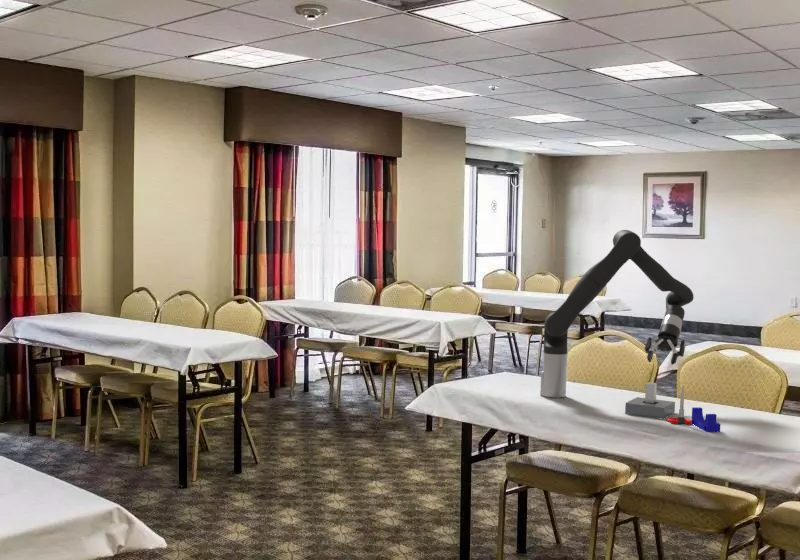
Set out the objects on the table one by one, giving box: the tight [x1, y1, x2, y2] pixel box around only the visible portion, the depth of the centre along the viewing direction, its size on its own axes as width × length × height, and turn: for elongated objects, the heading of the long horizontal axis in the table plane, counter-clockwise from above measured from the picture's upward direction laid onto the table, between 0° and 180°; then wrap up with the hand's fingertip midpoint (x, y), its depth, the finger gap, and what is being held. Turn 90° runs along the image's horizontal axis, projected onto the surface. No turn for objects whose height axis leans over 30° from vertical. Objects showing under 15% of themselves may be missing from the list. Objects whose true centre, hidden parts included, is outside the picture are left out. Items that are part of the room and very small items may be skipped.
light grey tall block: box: [644, 381, 658, 404], centre depth 317 cm, size 3×3×11 cm
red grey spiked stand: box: [666, 386, 692, 426], centre depth 304 cm, size 8×13×9 cm
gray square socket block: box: [624, 396, 676, 420], centre depth 317 cm, size 14×14×4 cm
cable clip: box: [691, 406, 721, 433], centre depth 295 cm, size 12×4×6 cm, turn 6°
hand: (660, 362), depth 326 cm, fingers open, 8 cm apart
